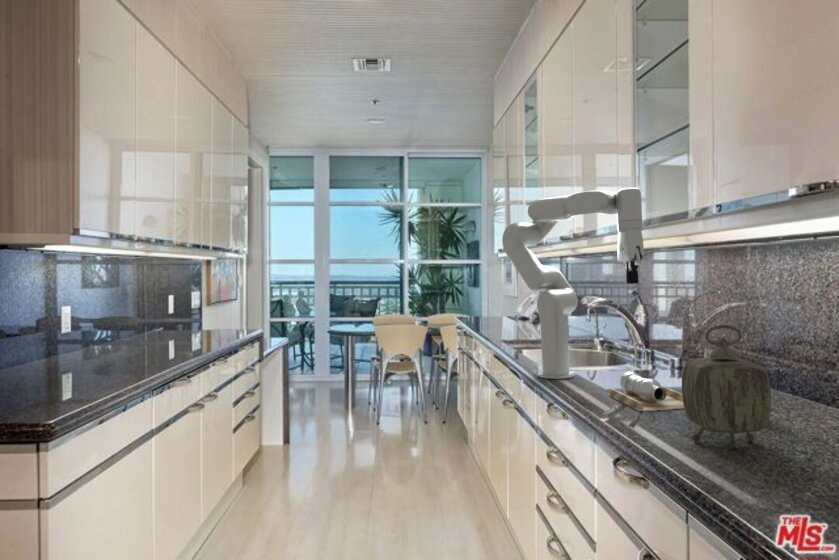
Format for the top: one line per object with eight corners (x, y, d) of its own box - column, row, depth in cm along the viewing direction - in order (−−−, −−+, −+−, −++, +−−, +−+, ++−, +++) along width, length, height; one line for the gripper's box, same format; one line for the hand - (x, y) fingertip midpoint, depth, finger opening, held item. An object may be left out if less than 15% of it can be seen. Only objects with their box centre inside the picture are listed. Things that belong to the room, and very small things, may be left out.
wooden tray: (609, 395, 160) (609, 388, 160) (661, 392, 160) (661, 385, 160) (639, 411, 140) (639, 403, 140) (699, 408, 140) (698, 400, 140)
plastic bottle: (639, 371, 162) (672, 382, 142) (637, 393, 162) (671, 407, 142) (618, 369, 162) (649, 380, 142) (616, 391, 162) (647, 405, 142)
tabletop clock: (754, 439, 114) (749, 322, 114) (778, 452, 105) (772, 326, 105) (684, 439, 115) (678, 324, 115) (701, 453, 106) (695, 328, 106)
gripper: (609, 229, 180) (611, 283, 180) (628, 224, 165) (631, 284, 165) (631, 228, 180) (633, 282, 180) (652, 223, 165) (654, 283, 165)
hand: (632, 283), depth 172 cm, fingers closed
